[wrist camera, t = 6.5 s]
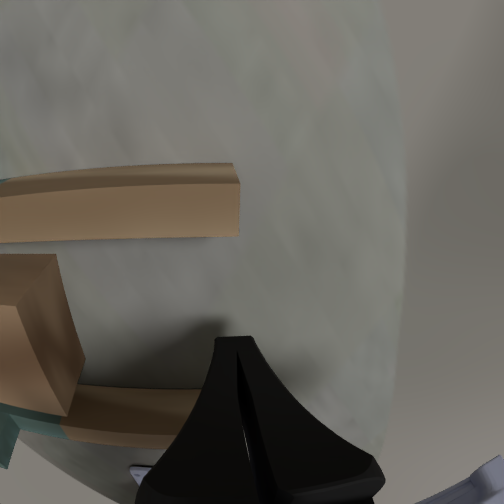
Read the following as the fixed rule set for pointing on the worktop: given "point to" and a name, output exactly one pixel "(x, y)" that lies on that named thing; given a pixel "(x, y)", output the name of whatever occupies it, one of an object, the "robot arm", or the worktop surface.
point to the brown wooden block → (36, 336)
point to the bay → (116, 227)
